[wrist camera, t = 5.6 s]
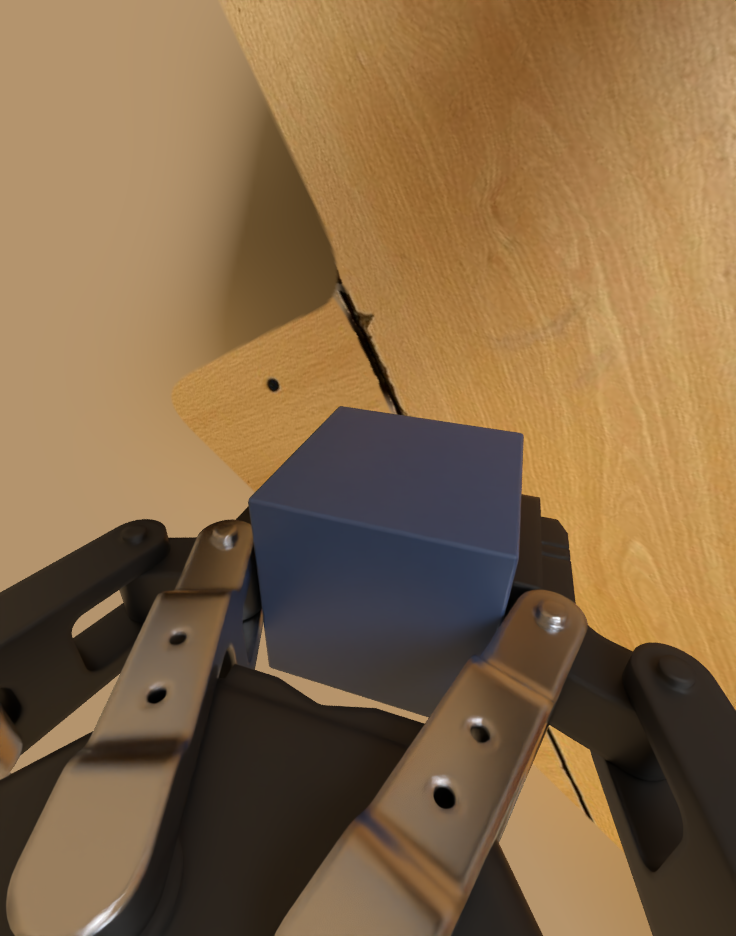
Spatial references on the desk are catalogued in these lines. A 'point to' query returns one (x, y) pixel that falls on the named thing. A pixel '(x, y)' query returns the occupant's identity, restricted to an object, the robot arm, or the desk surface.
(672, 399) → the desk surface
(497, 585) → the cube
